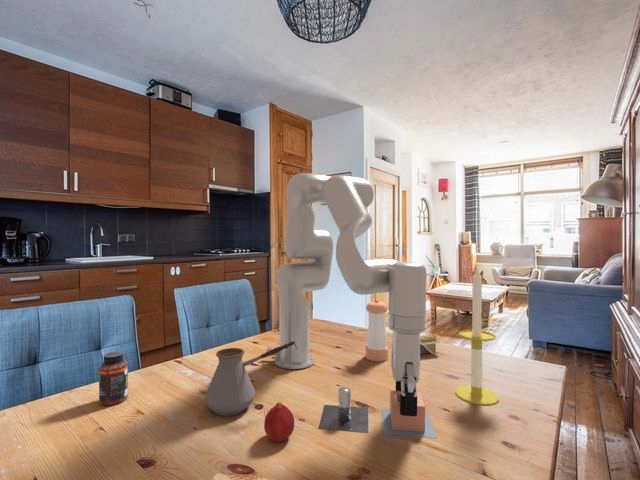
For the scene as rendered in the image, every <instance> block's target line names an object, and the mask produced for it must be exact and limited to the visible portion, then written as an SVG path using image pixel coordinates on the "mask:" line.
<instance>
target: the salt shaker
mask: <svg viewBox="0 0 640 480" xmlns="http://www.w3.org/2000/svg"><path fill="white" fill-rule="evenodd" d="M365 308H366V311H367V312H368V322H367V323H368V325H367V332H366V345H365V358H366V359H367V360H369V361H371V362H386V361H387V360H388V359H389V347H388V346H387V345H388V334H387V328H386V327H387V326H386V313H387V312H388V311H389V306H388V305H387V304H386V303H385V302H384V301H380V300H379V299H374V301H370V302H368V303H367V304H366V307H365Z"/></svg>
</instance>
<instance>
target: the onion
mask: <svg viewBox="0 0 640 480" xmlns="http://www.w3.org/2000/svg"><path fill="white" fill-rule="evenodd" d="M263 426H264V427H263V428H264V429H263V430H264V433H265V434H266V436H267V437H268V438H269V439H270V440H272V441H274V442H275V443H281V442H282V443H283V442H284V441H286V440H287V439H288V438H290V436H291V435H292V434H293V432H294V428H295V417H294V414H293V412H292V411H291V409H289V408H288V407H287V406H286V405H285V404H283V403H282V401H278V402H277V403H275V405H274V406H273V407H271V408H270V409H269V410H268V412H267V413H266V415H265V417H264V423H263Z"/></svg>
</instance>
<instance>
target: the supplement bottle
mask: <svg viewBox="0 0 640 480" xmlns="http://www.w3.org/2000/svg"><path fill="white" fill-rule="evenodd" d="M128 366H129V365H128V361H127V360H125V359H124V352H123V351H113V352H112V351H111V352H109V353H106V354H104V355H103V363H102V364H100V366H99V367H98V386H99V387H98V390H99V391H98V397H99V398H98V400H99V404H100V405H102V406H114V405H117V404H120V403H122V402H124V401H125V400H127V398H128V397H129V383H128V382H129V381H128V378H129V377H128V376H129V375H128V374H129V373H128V372H129V370H128Z"/></svg>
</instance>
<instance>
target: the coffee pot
mask: <svg viewBox="0 0 640 480" xmlns="http://www.w3.org/2000/svg"><path fill="white" fill-rule="evenodd" d="M292 345H295V348H296V349H297V346H296V343H295V341H293V342H290V343H288V344H284V345H283V346H280V347H279V346H276V347H273V348H274V349H272V350H270V351H268V352H267V351H266V352H264V353H262V354H260V355H258V356H256V357H253V358H251V359H249V360H245V361H244V362H243V360H242V359H243V357H244V354H245V350H244V349H242V348H239V347H229V348H228V347H227V348H223V349H220V350H218V351H217V352H216V353H215V356H216V357H217V359H218V364H217V367H216V368H215V370H214V373H213V376H212V379H211V380H210V383H209V386H208V387H207V390H206V392H205V394H204V402H205V405H206V406H207V407H208V408H209V409H210V410H211V411H213V413H215V414H217V415H219V416H227V417H228V416H233V415H237V414H241V413H242V412H243V411H245V410H246V409H247V408H248V407H249V406H250V405H251V404H252V402H253V401H254V399H255V396H256V389H255V387H254V385H253V382H252V380H251V378H250V376H249V373H248V371H247V369H246V367H247V366H249V365H251V364H254V363H256V362H258V361H259V360H261V359H265V358H268V357H271V355H273V354H276V353H278V352H280V351H281V350H283V349H285V348H286V349H287V348H288V347H289V346H292Z"/></svg>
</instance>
